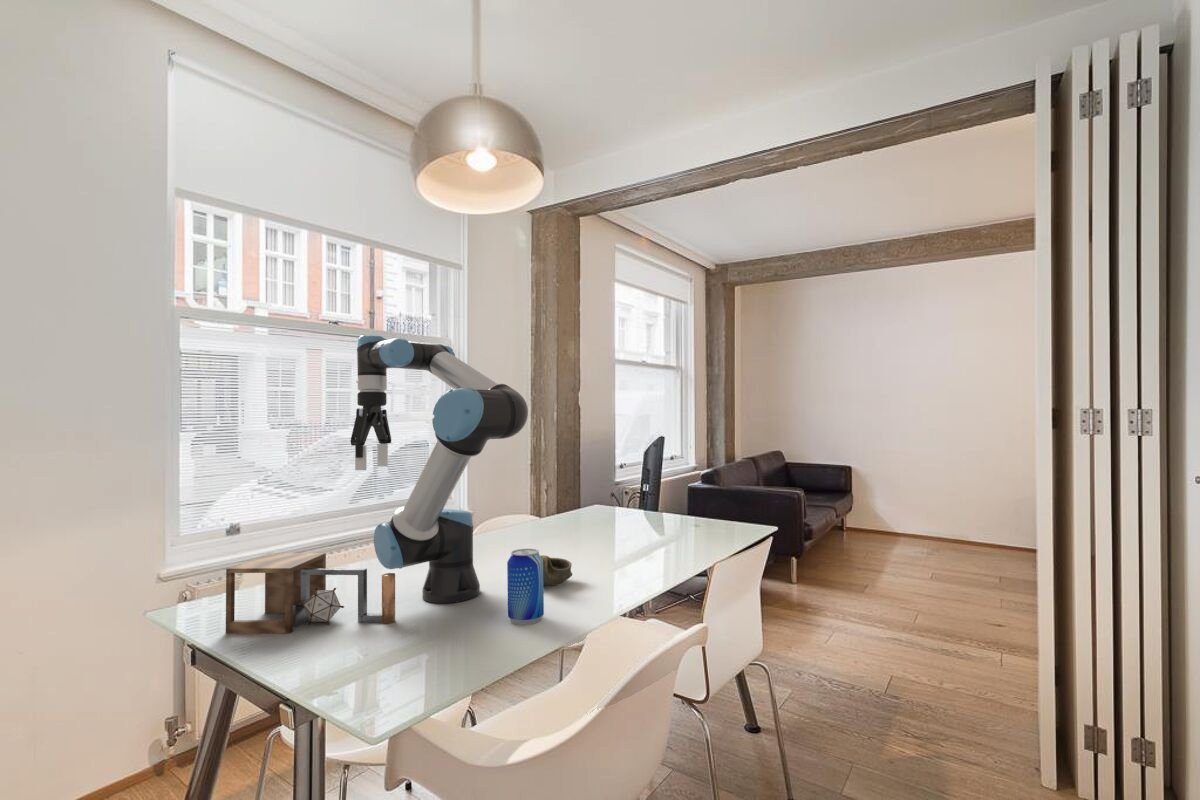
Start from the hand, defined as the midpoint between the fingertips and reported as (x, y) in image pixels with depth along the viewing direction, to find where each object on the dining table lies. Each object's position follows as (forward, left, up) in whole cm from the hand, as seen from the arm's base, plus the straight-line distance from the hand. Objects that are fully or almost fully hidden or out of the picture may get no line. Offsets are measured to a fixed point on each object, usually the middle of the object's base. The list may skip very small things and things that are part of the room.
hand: (372, 468), depth 160 cm
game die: (+2, +22, -35) cm, 41 cm away
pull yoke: (-3, +21, -35) cm, 40 cm away
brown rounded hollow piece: (-47, -9, -35) cm, 59 cm away
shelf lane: (+13, +21, -35) cm, 43 cm away
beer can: (-46, +20, -35) cm, 61 cm away
